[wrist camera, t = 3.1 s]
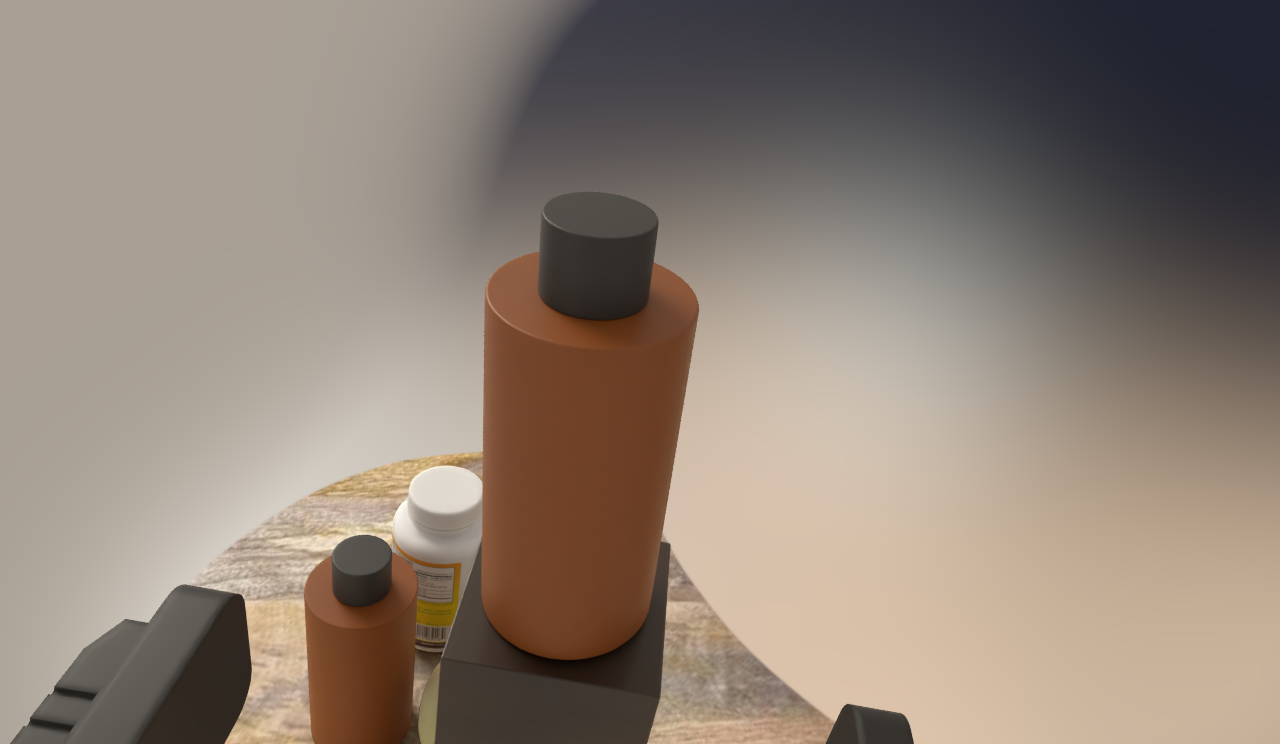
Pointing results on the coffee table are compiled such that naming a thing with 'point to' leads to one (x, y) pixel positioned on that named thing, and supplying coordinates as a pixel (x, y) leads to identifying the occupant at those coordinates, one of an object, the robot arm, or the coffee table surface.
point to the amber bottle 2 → (580, 426)
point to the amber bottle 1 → (361, 643)
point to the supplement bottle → (439, 545)
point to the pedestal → (547, 681)
